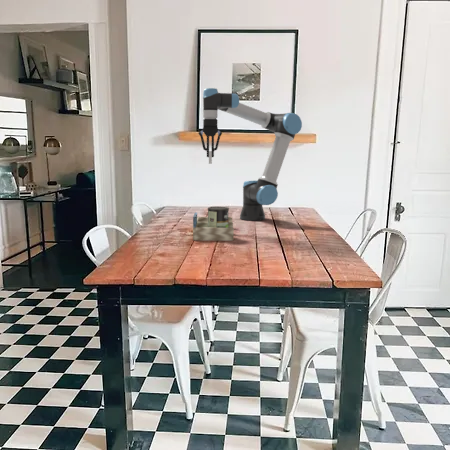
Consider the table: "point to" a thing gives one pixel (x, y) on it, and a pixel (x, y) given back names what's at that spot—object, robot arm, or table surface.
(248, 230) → the table surface
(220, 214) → the coffee can
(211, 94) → the robot arm
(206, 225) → the organizer
